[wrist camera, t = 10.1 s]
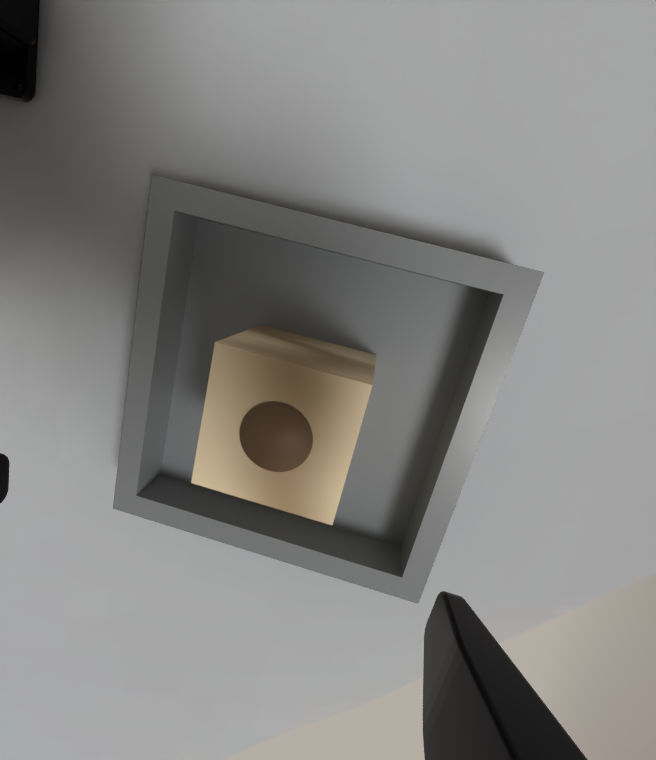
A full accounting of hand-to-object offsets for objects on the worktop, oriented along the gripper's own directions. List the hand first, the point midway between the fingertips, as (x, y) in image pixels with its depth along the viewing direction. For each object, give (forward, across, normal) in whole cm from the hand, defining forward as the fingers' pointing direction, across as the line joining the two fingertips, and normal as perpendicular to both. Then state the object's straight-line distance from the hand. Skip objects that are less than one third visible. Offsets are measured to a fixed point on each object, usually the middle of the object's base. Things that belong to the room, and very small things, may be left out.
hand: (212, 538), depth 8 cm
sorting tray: (+11, 0, 0) cm, 11 cm away
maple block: (+10, 0, 0) cm, 10 cm away
